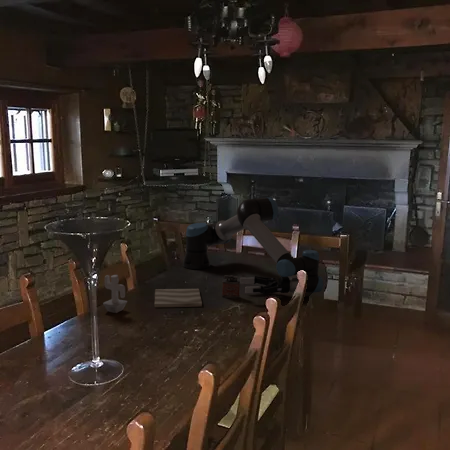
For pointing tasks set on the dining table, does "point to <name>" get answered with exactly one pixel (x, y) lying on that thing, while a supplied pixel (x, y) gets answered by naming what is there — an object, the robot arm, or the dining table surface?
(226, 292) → the lighter
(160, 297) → the board
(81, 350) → the dining table surface
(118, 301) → the figurine
